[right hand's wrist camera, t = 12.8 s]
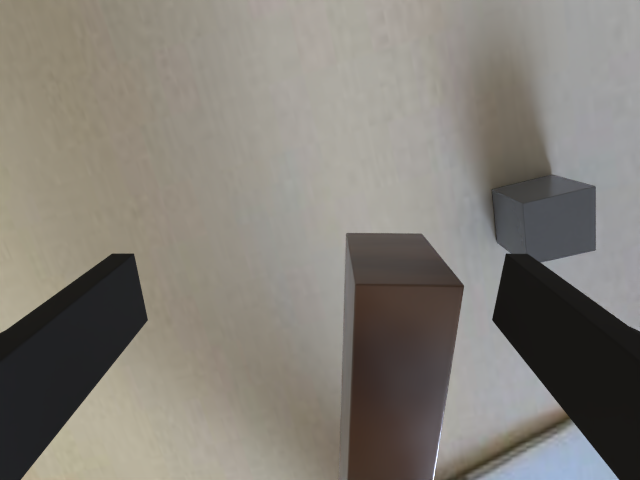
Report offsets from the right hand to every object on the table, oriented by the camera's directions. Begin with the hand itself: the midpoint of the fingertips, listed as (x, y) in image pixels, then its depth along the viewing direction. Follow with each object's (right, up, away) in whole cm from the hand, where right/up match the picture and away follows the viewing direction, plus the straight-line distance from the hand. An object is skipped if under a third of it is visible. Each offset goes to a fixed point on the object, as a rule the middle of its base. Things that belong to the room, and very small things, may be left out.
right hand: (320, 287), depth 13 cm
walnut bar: (+3, -9, +10) cm, 14 cm away
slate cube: (+18, +4, +18) cm, 25 cm away
